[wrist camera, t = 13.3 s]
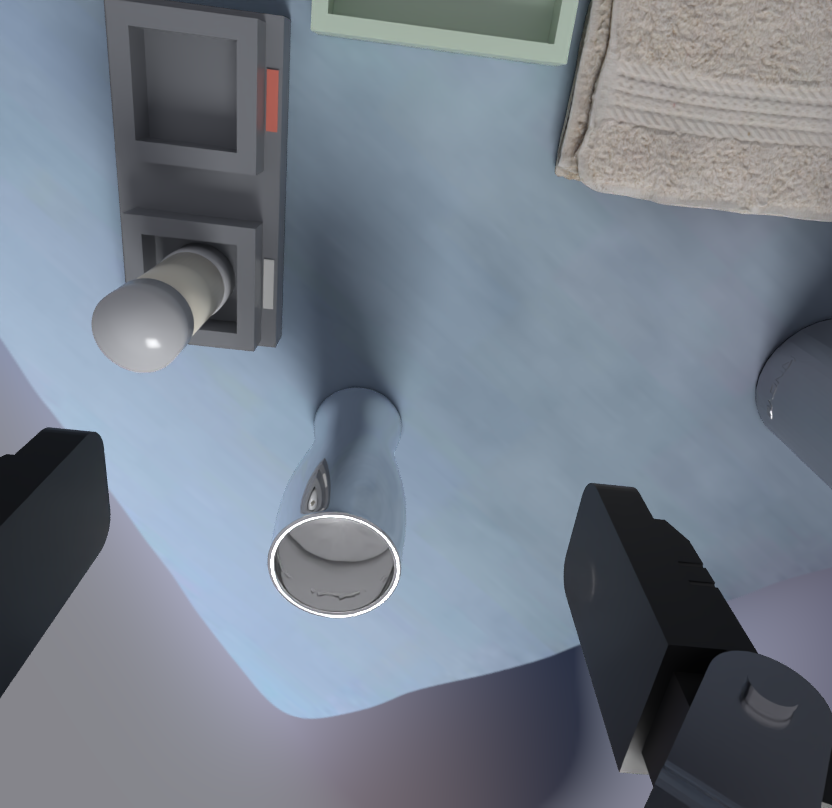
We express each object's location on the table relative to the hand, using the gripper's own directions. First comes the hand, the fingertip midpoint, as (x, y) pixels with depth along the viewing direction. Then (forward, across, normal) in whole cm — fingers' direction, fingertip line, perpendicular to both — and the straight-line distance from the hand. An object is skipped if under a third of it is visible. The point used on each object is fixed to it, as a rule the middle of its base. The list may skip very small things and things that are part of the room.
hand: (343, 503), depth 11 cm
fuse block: (+31, +11, 0) cm, 33 cm away
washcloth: (+32, -18, -8) cm, 37 cm away
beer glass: (+31, +1, +15) cm, 35 cm away
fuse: (+29, +11, +5) cm, 32 cm away
